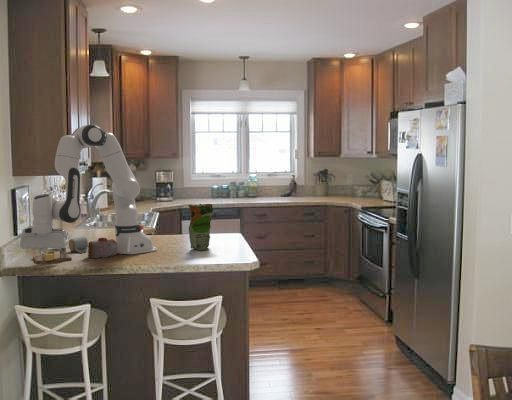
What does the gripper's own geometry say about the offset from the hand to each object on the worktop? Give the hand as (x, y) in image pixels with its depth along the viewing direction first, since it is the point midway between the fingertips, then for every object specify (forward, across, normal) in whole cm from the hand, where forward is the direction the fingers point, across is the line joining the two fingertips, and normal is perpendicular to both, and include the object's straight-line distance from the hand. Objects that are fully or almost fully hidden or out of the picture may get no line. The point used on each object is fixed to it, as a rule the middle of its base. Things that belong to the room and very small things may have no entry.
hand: (43, 257), depth 264 cm
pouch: (+2, -77, -20) cm, 79 cm away
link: (+1, -2, -6) cm, 6 cm away
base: (+3, -2, -9) cm, 10 cm away
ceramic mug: (+2, -13, -28) cm, 31 cm away
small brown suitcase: (+2, -26, -11) cm, 29 cm away
